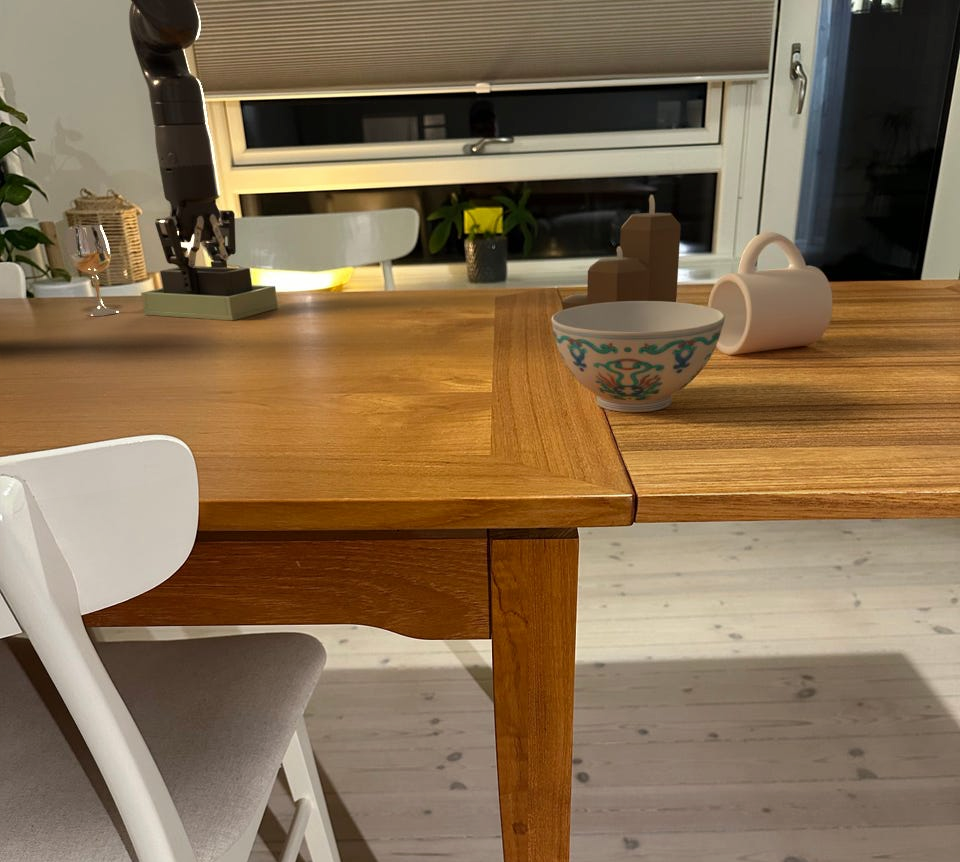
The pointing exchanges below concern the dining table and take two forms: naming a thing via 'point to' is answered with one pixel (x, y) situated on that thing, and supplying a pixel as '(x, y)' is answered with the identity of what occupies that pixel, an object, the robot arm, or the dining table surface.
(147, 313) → the tray
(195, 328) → the dining table surface
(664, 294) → the candle
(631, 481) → the dining table surface
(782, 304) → the mug
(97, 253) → the wineglass
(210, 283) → the dark brown rectangular box
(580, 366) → the chinaware
